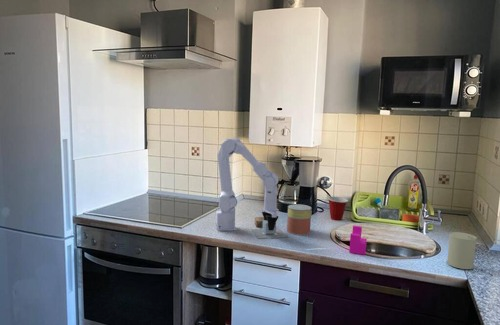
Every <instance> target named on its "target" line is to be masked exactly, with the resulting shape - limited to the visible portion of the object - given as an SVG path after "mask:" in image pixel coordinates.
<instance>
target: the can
mask: <svg viewBox="0 0 500 325" xmlns="http://www.w3.org/2000/svg"><path fill="white" fill-rule="evenodd" d="M477 239H478V237H477V236H475V235H473V234H470V233H466V232H459V231H453V232H450V233H449V240H448V252H447V259H446V264H448V265H449V266H451V267H454V268H458V269H462V270H472V269H474V267H475V265H474V263H475V255H476V246H477Z"/></svg>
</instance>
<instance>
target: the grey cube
mask: <svg viewBox="0 0 500 325" xmlns="http://www.w3.org/2000/svg"><path fill="white" fill-rule="evenodd" d="M276 228H277V222H276V223H275V227H274V230H270V231H269V228H268V221H267V220H263V227H262V229H263V230H262V231H263V232H264V233H265V234H271V233H276Z"/></svg>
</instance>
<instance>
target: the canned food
mask: <svg viewBox="0 0 500 325" xmlns="http://www.w3.org/2000/svg"><path fill="white" fill-rule="evenodd" d="M311 219H312V206H309V205H306V204H299V203H298V204H297V203H294V204H289V205H287V220H286V223H287V224H286V232H287V233H288V234H290V235H297V236H305V235H309V234H310V233H311V223H312V222H311V221H312V220H311Z"/></svg>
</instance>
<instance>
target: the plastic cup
mask: <svg viewBox="0 0 500 325" xmlns="http://www.w3.org/2000/svg"><path fill="white" fill-rule="evenodd" d="M327 199H328V206H329V216H330V219H331V220H332V221H337V222H338V221H339V222H340V221H342V220H343V216H344V214H345V210H346V206H347V203H349V200H348V199H347V198H345V197H339V196H328V197H327Z"/></svg>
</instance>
